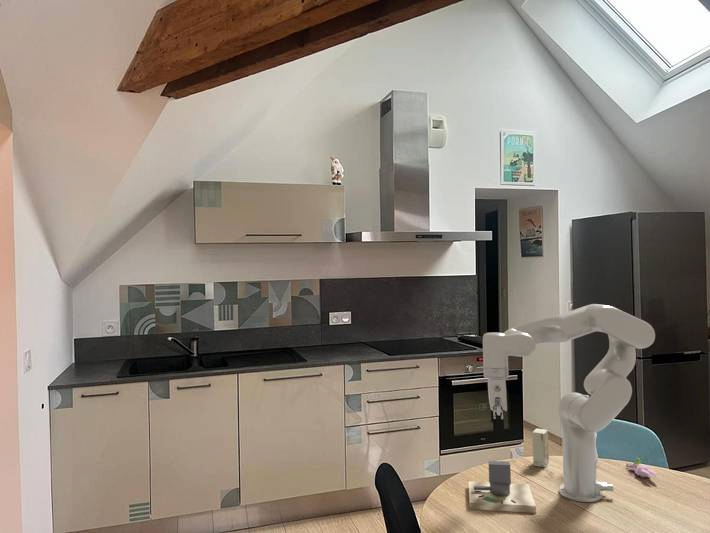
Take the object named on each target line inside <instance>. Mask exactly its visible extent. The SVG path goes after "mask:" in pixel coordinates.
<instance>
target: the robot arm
mask: <svg viewBox="0 0 710 533" xmlns="http://www.w3.org/2000/svg"><path fill="white" fill-rule="evenodd" d="M595 332H600V333H605V334H607V336H608V342H609V343H608V344H609V348H608V350H607V353H606V354H605V355H604V357H603V358H602V359H601V360H600V361H599V363H597V364H596V366H595V367H594V368H593V369H592V370H591V371H590V372H589V373H588V375H587V376H586V377H585V379H584V381H583V388H584V390H585V391H586V393H587V395H589V397H587V396H585V395H586V394H582V393H579V392H567V393H566V394H564V395H563V396H562V397H561V398H560V400H559V402H558V414H559V420H560V426H561V437H562V438H561V439H562V440H561V441H562V466H563V483H562V484H561V485H559V487H558V493H559V494H560V496H562V497H564V498H566V499H569V500H572V501H575V502H579V503H580V502H581V503H594V502H598V501H600V500H602V498H603V491H605V492H606V491H607V492H614V485H613V484H607V482H606V481H599V480H598V479H597V464H596V457H595V436H594V432H596V433H598V432H601V431H602V430H604V429H605V428H606V427H607V426H609V425H610V424H611V423H612V421H613V420H614V419H615V418H616V417H617V416H618V415H619V414H620V413H621V412H622V410H623V409H624V408H625V407H626V406H628V404H629V402H630V400H631V397H632V395H633V387H632V384H631V382H630V380H628V378H627V377H628V376H629V374H630V373H631V372H632V371H633V369H634V367H635V365H636V361H637V353H636V349H638V350H639V349H641V350H643V349H647V348H649V347H651V345H653V344H654V342H655V339H656V332H655V329H654V328H653V326H652V324H650V323H649V322H647V321H645V320H643V319H641V318H639V317H636V316H634V315H632V314H630V313H628V312H625V311H623V310H621V309H619V308H616V307H615V306H612V305H611V306H610V305H606V304H598V303H591V304H587V305H584V306H581V307H578V308H576V309H572V310H569V311H567V312H565V313H561V314H557V315H554V316H551V317H547V318H543V319H542V318H541V319H539V320H533V321H530V322H526V323H523V324H520V325H517V326H515V327H511V328H509V329H507V330H505V331H504V332H486V333H484V334H483V336H482V357H483V358H482V361H483V367H482V368H483V378H484V379H487V393H488V402H489V403H488V404H489V406H490V422H491V423H492V431H493V433H504V432H505V419H504V412H507V411H508V405H507V404H508V403H507V402H508V401H507V382H506V379H508V378H509V356H511V357H517V358H518V357H520V358H522V357H528V356H531V355H532V354H533V353H534V352H535V350H536V345H538V344H544V343H545V344H546V343H556V344H557V343H565V342H569V341H571V340H575V339H577V338H578V339H579V338H580V337H583V336H586V335H588V334H592V333H595ZM503 411H504V412H503Z"/></svg>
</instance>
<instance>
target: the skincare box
mask: <svg viewBox="0 0 710 533" xmlns="http://www.w3.org/2000/svg"><path fill="white" fill-rule="evenodd" d="M531 433H532V457H533V458H532V460H533V461H532V462H533V464H532V465H533V466H535V467H541V468H547V466H548V464H549V463H550V458H549V455H550V454H549V433H548V429H543V428H535V429H534V430H533V431H532V432H531Z"/></svg>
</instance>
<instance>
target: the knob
mask: <svg viewBox="0 0 710 533" xmlns="http://www.w3.org/2000/svg"><path fill="white" fill-rule="evenodd" d="M487 462H488V482H489V483H490V486H474V490H488V491H490V492H491V493H492V494H494V495H497V496H507V495H509V494H510V485H511V483H512V478H511V464H510V461H499V460H488V461H487Z"/></svg>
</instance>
